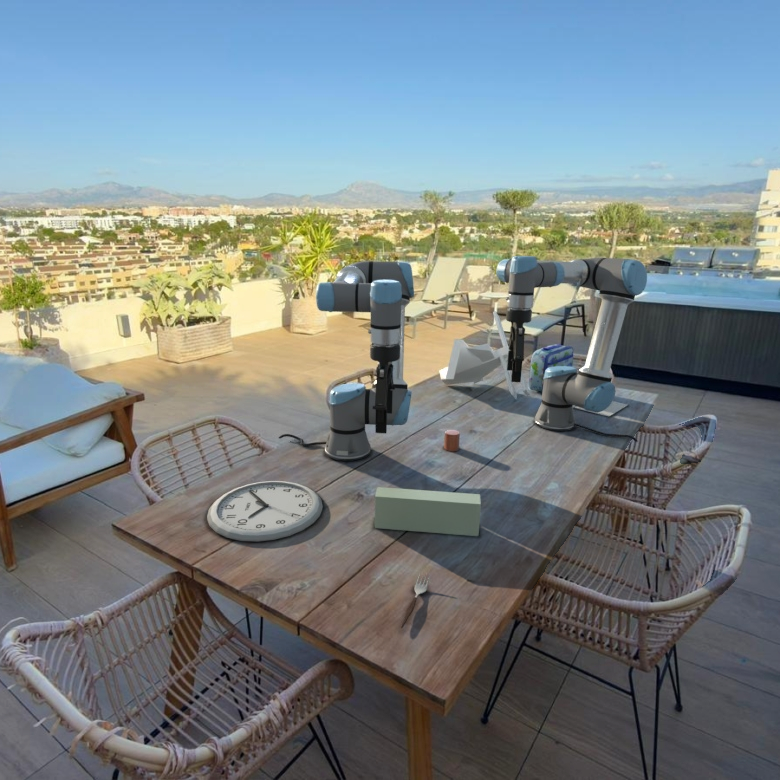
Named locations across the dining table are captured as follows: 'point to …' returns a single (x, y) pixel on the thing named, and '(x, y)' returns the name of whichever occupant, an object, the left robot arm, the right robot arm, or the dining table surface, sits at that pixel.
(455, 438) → the orange cylinder puck
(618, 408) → the invitation card
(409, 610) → the fork
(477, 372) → the white plastic object
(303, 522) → the wall clock
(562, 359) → the lunch box
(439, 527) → the beam
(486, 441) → the dining table surface
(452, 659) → the dining table surface
